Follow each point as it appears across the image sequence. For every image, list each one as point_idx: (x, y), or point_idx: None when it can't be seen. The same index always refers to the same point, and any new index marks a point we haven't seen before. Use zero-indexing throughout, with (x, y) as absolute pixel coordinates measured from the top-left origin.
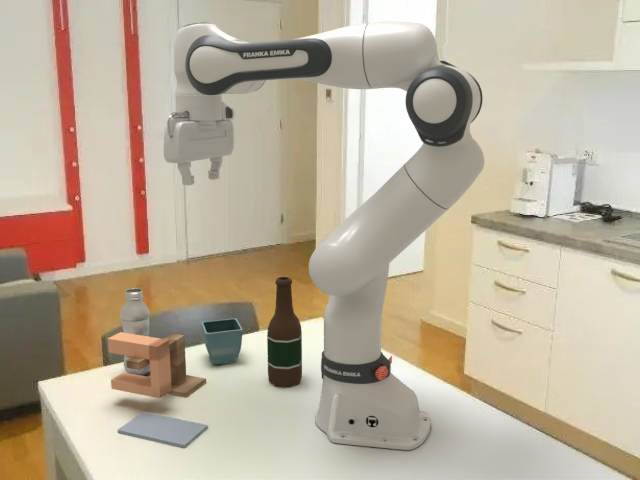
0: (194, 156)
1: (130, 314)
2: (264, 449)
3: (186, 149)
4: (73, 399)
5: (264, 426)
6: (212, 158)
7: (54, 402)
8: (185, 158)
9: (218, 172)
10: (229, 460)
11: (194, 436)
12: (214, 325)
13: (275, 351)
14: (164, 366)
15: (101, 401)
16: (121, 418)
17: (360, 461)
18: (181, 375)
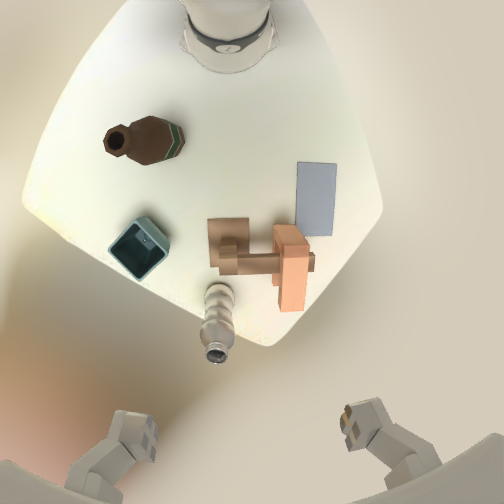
0: (430, 493)
1: (233, 334)
2: (312, 95)
3: (494, 488)
4: None
5: (273, 111)
6: (115, 501)
7: (299, 316)
8: (487, 453)
9: (116, 432)
10: (339, 118)
11: (321, 163)
12: (130, 266)
13: (176, 141)
14: (290, 234)
15: None
16: None
17: (296, 20)
18: (230, 240)
